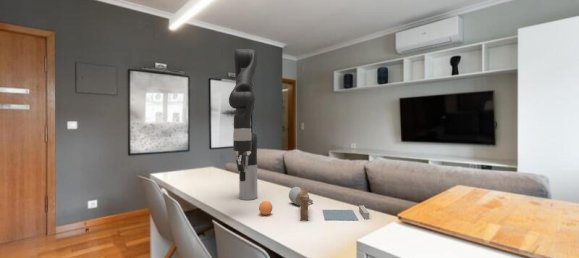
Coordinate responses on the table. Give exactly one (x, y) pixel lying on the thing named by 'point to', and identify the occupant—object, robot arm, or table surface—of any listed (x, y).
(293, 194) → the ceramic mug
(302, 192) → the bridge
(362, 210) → the stopper
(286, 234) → the table surface
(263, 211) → the ball
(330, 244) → the table surface
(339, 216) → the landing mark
